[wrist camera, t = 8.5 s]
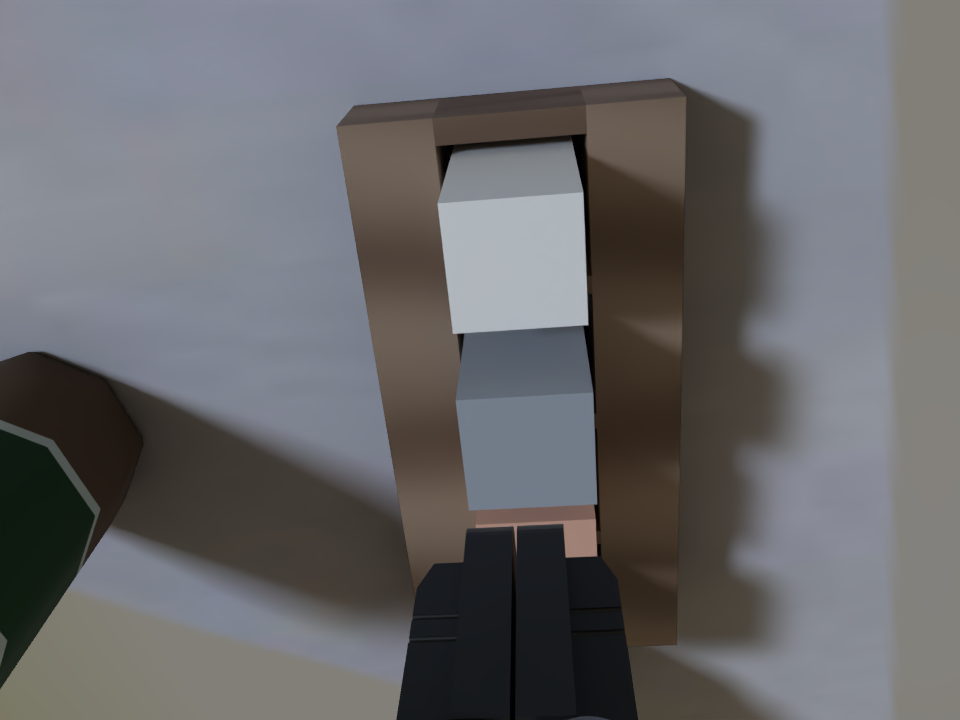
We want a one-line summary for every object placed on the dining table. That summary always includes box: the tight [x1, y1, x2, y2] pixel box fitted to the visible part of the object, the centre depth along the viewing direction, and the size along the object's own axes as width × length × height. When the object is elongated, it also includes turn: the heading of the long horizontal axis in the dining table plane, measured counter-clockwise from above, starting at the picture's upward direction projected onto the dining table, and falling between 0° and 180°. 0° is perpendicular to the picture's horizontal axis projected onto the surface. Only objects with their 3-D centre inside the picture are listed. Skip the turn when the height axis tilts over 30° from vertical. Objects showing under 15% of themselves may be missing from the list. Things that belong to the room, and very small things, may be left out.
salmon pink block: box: [476, 505, 597, 558], centre depth 29 cm, size 4×4×6 cm
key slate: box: [456, 325, 597, 511], centre depth 26 cm, size 4×4×6 cm
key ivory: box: [437, 136, 588, 334], centre depth 25 cm, size 4×4×6 cm
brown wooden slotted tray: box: [336, 78, 686, 647], centre depth 31 cm, size 21×10×3 cm, turn 5°
